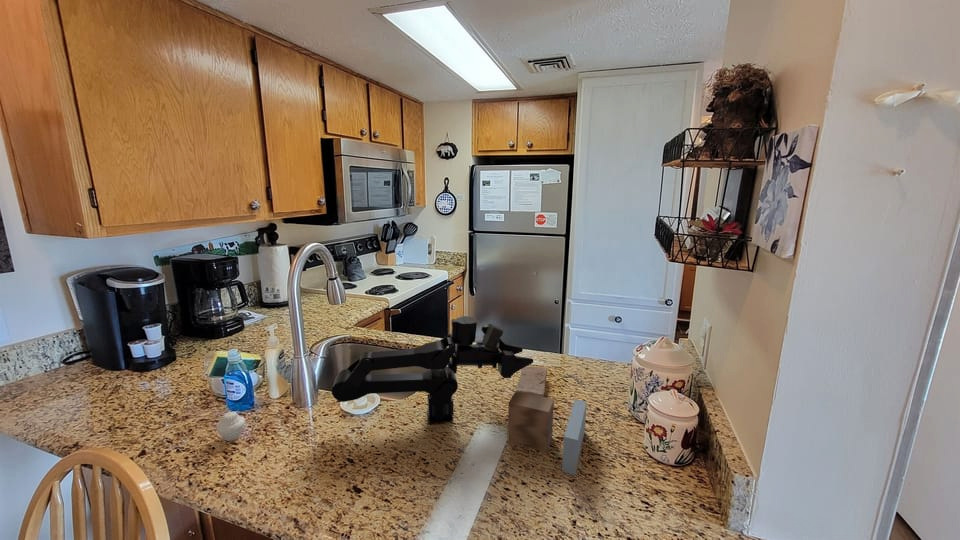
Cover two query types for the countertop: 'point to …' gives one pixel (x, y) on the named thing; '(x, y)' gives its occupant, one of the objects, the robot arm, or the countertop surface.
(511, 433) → the walnut box
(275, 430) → the countertop surface
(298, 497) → the countertop surface
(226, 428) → the grey rounded lump
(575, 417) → the slate board
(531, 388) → the brick
